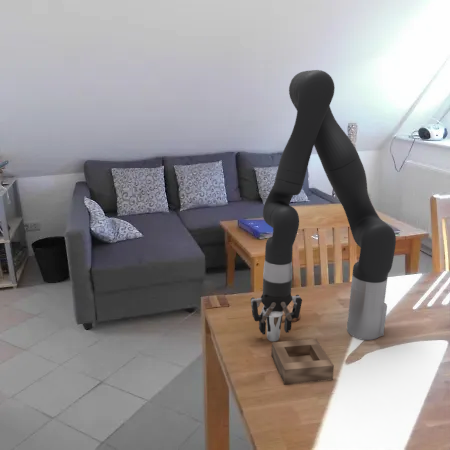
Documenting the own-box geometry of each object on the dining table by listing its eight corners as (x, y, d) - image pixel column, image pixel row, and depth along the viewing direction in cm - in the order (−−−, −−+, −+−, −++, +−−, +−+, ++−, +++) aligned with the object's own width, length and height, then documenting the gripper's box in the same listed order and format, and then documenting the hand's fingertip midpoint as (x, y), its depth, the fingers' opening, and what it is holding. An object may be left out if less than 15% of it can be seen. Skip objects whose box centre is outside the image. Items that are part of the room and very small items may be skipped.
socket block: (315, 352, 128) (316, 338, 127) (332, 379, 117) (333, 365, 115) (271, 355, 126) (271, 342, 125) (284, 384, 115) (284, 369, 113)
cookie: (297, 326, 141) (297, 317, 140) (261, 320, 144) (262, 311, 143) (302, 311, 150) (303, 302, 149) (269, 305, 153) (269, 297, 152)
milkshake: (283, 344, 131) (285, 311, 128) (263, 341, 132) (265, 308, 129) (285, 335, 136) (287, 303, 132) (265, 333, 137) (267, 301, 133)
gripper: (299, 268, 133) (295, 323, 138) (247, 271, 130) (246, 327, 136) (308, 280, 126) (304, 337, 131) (254, 283, 123) (252, 341, 129)
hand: (274, 331), depth 133 cm, fingers open, 6 cm apart
